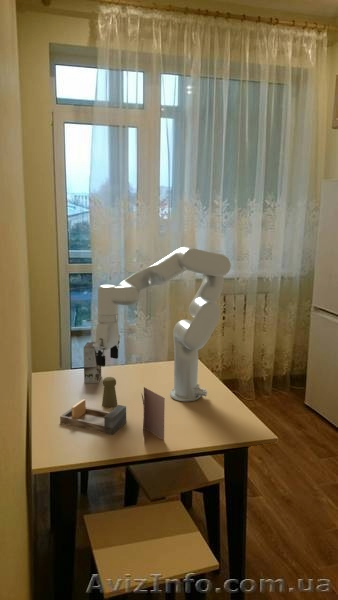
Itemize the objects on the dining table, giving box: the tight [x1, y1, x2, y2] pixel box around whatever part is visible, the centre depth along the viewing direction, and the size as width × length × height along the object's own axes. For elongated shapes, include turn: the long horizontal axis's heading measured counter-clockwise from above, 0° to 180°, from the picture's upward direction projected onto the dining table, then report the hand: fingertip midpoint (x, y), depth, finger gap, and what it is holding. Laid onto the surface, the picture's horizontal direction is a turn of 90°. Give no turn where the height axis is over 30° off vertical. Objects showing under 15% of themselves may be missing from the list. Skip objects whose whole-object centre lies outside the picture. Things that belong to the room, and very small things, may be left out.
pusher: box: [71, 398, 87, 419], centre depth 156 cm, size 1×7×5 cm, turn 158°
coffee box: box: [83, 341, 102, 384], centre depth 192 cm, size 9×6×16 cm
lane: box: [59, 404, 127, 436], centre depth 153 cm, size 21×10×6 cm, turn 68°
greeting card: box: [140, 386, 166, 441], centre depth 144 cm, size 11×7×15 cm, turn 4°
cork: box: [101, 376, 119, 409], centre depth 167 cm, size 6×6×11 cm
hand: (107, 361), depth 165 cm, fingers open, 9 cm apart
